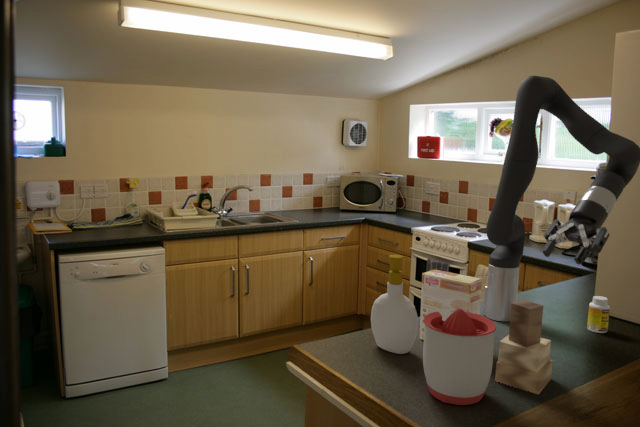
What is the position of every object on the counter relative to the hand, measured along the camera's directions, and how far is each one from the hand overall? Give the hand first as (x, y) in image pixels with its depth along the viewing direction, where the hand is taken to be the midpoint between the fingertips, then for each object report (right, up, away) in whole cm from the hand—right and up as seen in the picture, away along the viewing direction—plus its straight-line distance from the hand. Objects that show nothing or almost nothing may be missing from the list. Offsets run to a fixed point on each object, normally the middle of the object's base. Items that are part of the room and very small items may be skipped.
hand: (560, 258), depth 129 cm
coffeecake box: (-22, -26, +21) cm, 40 cm away
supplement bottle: (+25, -25, +32) cm, 48 cm away
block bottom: (-10, -29, -1) cm, 31 cm away
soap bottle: (-38, -26, +16) cm, 49 cm away
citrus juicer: (-28, -30, -8) cm, 41 cm away
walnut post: (-10, -19, -3) cm, 22 cm away
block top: (-10, -24, -2) cm, 26 cm away
